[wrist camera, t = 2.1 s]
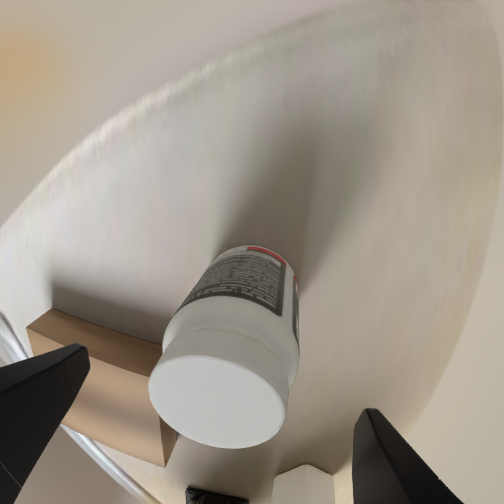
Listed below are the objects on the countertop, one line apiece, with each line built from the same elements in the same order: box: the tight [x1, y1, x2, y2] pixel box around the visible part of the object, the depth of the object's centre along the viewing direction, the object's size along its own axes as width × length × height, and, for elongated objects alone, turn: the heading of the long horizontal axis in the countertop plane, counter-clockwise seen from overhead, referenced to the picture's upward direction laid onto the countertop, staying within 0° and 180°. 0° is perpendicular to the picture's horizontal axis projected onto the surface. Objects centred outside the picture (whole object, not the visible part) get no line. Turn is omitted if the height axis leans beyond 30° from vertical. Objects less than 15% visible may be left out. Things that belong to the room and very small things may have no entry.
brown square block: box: [26, 308, 177, 468], centre depth 18 cm, size 10×10×3 cm
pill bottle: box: [148, 245, 300, 449], centre depth 11 cm, size 5×5×8 cm
